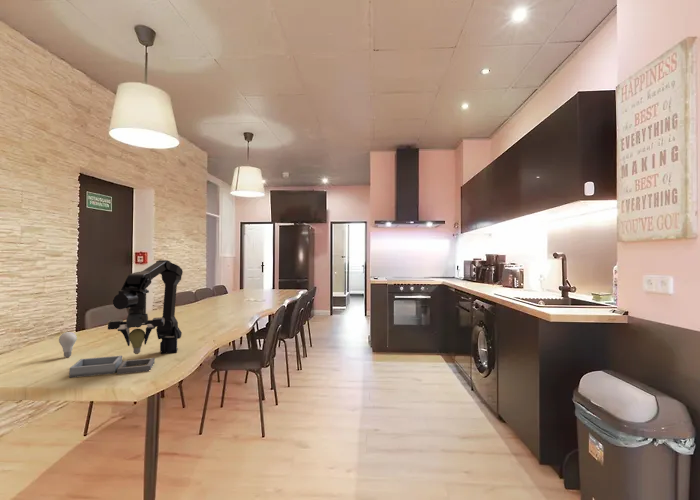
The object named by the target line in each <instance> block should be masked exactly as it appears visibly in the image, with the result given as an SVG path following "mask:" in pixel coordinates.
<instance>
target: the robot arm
mask: <svg viewBox="0 0 700 500" xmlns="http://www.w3.org/2000/svg"><path fill="white" fill-rule="evenodd" d="M159 275H161V280H162V282H163V284H164V294H163V307H162V316H161V317H153V318H152V319H149V315H148V313H147V294H149V293H150V291H149V289H147V288H148V287H149V286H150V285H151V284H152V280H153V279H155V278H156V277H157V276H159ZM182 277H183V268H182V267H181V266H179V265H178V264H175V263H172V261H170V260H167V259H165V260H164V259H163V260H162V259H159V260H156V262H155V263H153V264H151V265H150V266H148V267H147V268H145V269H144V270H141V271H137V272H135V271H134V272H132V273H129V275H128V276H127V277H126V279H125V281H124V283H123V285H122V287H121V289H120V290H118V294H116V295H115V296H114V298H113V300H112V305H113V306H114V308H116V309H117V310H125V309H128V315H127V316H126V319H125V320H124V319H112V320H111V321H109V322H108V323H107V330H117V331H118V332H121V334H122V335H123V337H124V340H125V342H126V344H127V346H128V347H129V346H130V345H131V342H130V340H129V334H130V332H131V331H130V328H136V329H139V328H141V327H143V326H146V328H145V339H144V341H143V342H144V346H145V345H147V342H148V339H149V337H150V335H151V332H152V330H154V329H155V328H156V329H155V330H156V336H157V340H161V341H160V346H159V348H160V349H159V352H160V354H161V355H163V354H172V353H173V354H174V353H177V352H178V350H179V348H178V340H179V339H181V338H182V335H183V332H182V331H181V330H180V328H179V325H178V324H179V322H178V320H177V319H176V316H175V313H176V301H177V290H178V289H177V288H178V284H179V283H180V282H181V280H182Z"/></svg>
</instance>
